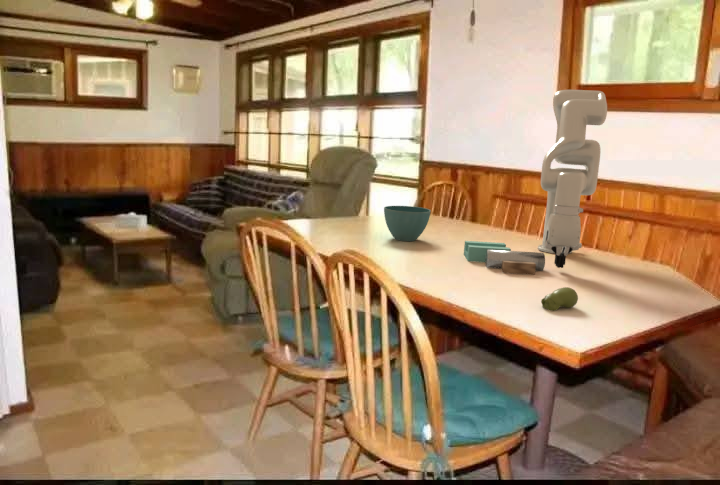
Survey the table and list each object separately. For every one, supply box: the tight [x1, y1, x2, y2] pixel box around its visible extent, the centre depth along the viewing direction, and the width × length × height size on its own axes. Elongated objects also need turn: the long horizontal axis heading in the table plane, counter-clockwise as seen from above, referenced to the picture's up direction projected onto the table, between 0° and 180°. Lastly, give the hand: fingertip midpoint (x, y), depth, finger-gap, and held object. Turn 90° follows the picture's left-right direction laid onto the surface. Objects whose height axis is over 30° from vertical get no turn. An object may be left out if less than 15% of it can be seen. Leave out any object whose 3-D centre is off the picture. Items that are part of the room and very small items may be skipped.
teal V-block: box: [463, 240, 512, 263], centre depth 204 cm, size 14×11×5 cm
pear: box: [540, 286, 579, 312], centre depth 151 cm, size 6×5×10 cm
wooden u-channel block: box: [501, 260, 536, 276], centre depth 192 cm, size 10×13×4 cm
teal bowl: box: [383, 205, 431, 242], centre depth 232 cm, size 18×18×12 cm
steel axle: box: [484, 250, 546, 272], centre depth 192 cm, size 18×6×6 cm, turn 88°
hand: (559, 266), depth 191 cm, fingers closed
